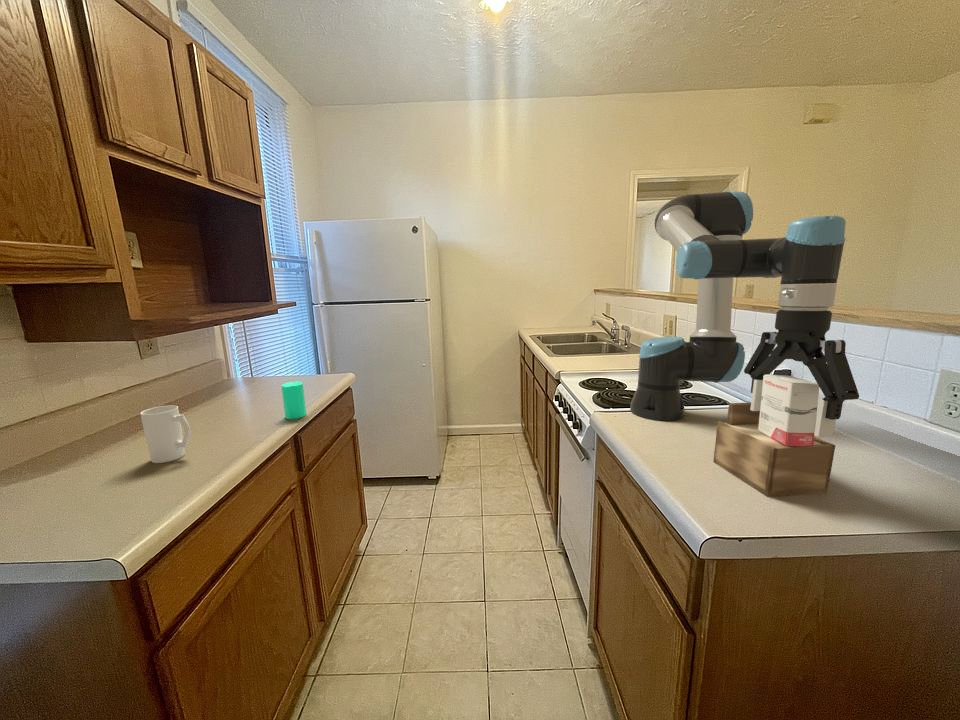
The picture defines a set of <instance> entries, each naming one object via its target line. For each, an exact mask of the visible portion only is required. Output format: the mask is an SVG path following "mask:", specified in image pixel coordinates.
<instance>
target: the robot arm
mask: <svg viewBox="0 0 960 720" xmlns="http://www.w3.org/2000/svg"><path fill="white" fill-rule="evenodd" d="M753 219H754V205H753V201H752V199H751V196H749V194H748V193H746V192H745V191H731V190H727V191H723V192H722V191H720V192H708V193H706V192H705V193H695V194H693V193H692V194H691V193H690V194H683V195H680V196H677V197H675V198H673V199H671V200H669V201H668V202H666V203H665V204H664V205H663V206H661V207H660V209H659V210H658V212H657V213H656V216H655V219H654V228H655V229H654V230H655V232H656V233H657V235H658V236H659V237H660V238H661V239H662V240H665V241H668V243H670V245H671V246H672V247H673V249H674V250H675V251H676V253H677V254H676V258H675V269H676V274H677V276H678V277H679V278H681V279H693V280H697V281H698V283H697V298H696V299H697V300H696V317H695V321H696V324H695V331H694V332H693V333H691V334H690V335H689V341H685V338H684V337H682V336H662V337H661V336H660V337H654V338H648V339H646V340H644V341H643V342H642V343H641V345H640V349H639V355H638V358H639V361H638V374H637V375H638V378H637V388H636V389H635V393H634V394H633V396H632V399H631V402H630V408H629V410H630V412H631V413H632V414H634V415H636V416H638V417H641V418H645V419H650V420H656V421H677V420H681V419H684V417H685V406H684V401H683V398H682V394H681V389H680V388H681V382H705V383H706V382H707V383H709V382H710V383H730V382H732V381H735V380H736V379H737V378H738V377H739V376H740V374H741V373H742V370H743V368H744V365H745V360H746V351H745V348H744V345H743V344H742V343H740V342H738V341H737V335H736V334H734V333H733V331H732V329H731V328H732V327H731V324H732V311H733V310H732V308H733V292H734V290H733V289H734V279H735V278H736V279H737V278H738V279H739V278H741V279H742V278H765V279H769V278H771V279H774V278H775V279H776V278H781V279H780V286H779V292H778V293H779V295H778V301H777V306H778V307H780V308H781V309H778V310H777V311H776V315H775V321H774V323H775V324H774V328H775V330H777V331H763V332H762V333H761V338H760V341H759V344H758V345H757V347H756V348H755V350H754V352H753V354H752V356H751V357H750V358H749V361H748V362H747V364H746V366H745V368H744V370H743V373H744V374H745V375H749V376H750V378H751V386H750V387H751V388H750V393H751V401H750V402H751V408H750V410H751V411H760V407H761V398H762V387H763V376H764V375H771V373H772V372H774V370H776V369H777V368H778V367H779V366H780V365H781V364H782V363H784V361H785V360H793V361H795V362H798V363H799V362H801V363H802V364H803V365H804V366H806V367H808V369H809V371H810V373H811V375H812V376H813V378H814V380H815V383H817V384H818V385H819V390H820V391H821V392H822V394H823V398H820V399H819V400H818V407H817V416H816V425H815V432H814V437H819V438H820V437H821V438H822V437H834V432H835V425H836V421H837V420H840V418H841V415H842V410H843V403H844V402H845V401H848V400H849V401H851V400H858V399H859V398H860V393H859V390H858V387H857V385H856V381H855V379H854V376H853V373H852V370H851V367H850V364H849V361H848V358H847V355H846V343H847V342H846V341H845V340H843V339H832V340H831V339H830V340H827V339H826V334H827V332H829V331H830V329H831V324H832V317H833V312H832V311H831V310H829V309H830V308H833V307H834V305H835V300H836V299H835V298H836V294H837V293H836V292H837V283H838V279H839V273H840V268H841V267H840V266H841V262H842V257H843V256H842V255H843V251H844V244H845V242H846V237H845V235H846V234H845V232H846V224H847V222H846V219H845V218H844V217H843V216H840V215H822V216H812V217H811V216H810V217H804V218H800V219H796V220H793V221H792V222H790V224H789V225H788V227H787V231H786V233H785V236H784V237H775V238H756V239H755V238H754V239H753V238H752V239H750V238H749V239H743V235H746V234H747V232H749V230H750V229H751V227H752V221H753Z"/></svg>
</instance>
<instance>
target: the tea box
mask: <svg viewBox="0 0 960 720" xmlns="http://www.w3.org/2000/svg"><path fill="white" fill-rule="evenodd" d="M725 423H726V422H723V421H717V425H716V426H717V427H716V435H715V441H714V442H715V444H714V451H713V452H714V453H713V463H714V464H715V465H717V466H719V467H720V468H722V469H723V470H724V471H726V472H728V473H730V474H732V475H733V476H734V477H736V478H738V479H739V480H741V481H742V482H744V483H745V484H747V485H748V486H750V487H752V488H753V489H754V490H756V491H757V492H760V493H761V494H762V495H763V496H766V497H781V496H797V495H812V494H813V495H815V494H824V493H825V494H827V493H828V491H829V485H830V480H831V479H830V478H831V473H832V468H833V462H834V457H835V456H834V454H835V451H836V444H833V443H831V442H828V441H826V440H823V439H820V438H817V436H814V441H816V442H819V443H821V444H820V445H814V446H783V447H773V446H771V445H769V444H767V443H765V442H763V441H761V440H759V439H756V438H754V437H752V436H750V435H748V434H746V433H744V432H742V431H740V430H738V429H736V428H733V427H731V426H729V425H727V424H725Z"/></svg>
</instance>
